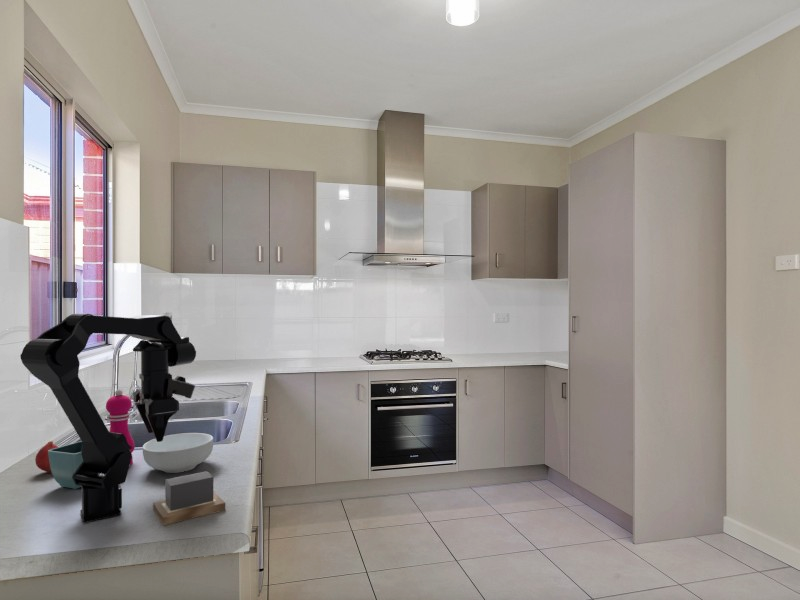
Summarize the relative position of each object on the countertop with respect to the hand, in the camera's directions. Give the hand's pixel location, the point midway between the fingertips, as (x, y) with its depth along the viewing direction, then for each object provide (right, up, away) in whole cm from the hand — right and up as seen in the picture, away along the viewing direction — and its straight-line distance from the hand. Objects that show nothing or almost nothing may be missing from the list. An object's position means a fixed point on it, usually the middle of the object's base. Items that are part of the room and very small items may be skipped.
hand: (155, 436), depth 118 cm
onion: (-32, -12, +11) cm, 36 cm away
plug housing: (+13, -11, -12) cm, 20 cm away
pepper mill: (-18, -12, +17) cm, 27 cm away
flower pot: (-20, -12, +3) cm, 23 cm away
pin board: (+13, -12, -12) cm, 21 cm away
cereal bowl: (-1, -12, +14) cm, 19 cm away
